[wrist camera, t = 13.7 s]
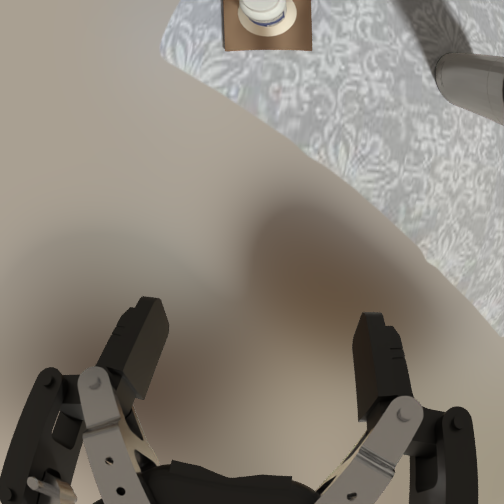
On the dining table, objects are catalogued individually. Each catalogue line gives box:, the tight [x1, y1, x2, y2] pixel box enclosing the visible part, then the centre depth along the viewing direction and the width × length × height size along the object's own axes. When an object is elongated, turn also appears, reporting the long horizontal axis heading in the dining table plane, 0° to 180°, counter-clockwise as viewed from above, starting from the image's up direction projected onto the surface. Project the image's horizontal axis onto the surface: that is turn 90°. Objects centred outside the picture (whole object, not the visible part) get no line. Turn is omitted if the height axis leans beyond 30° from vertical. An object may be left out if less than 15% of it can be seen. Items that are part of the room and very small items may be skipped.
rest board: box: [223, 0, 312, 51], centre depth 29 cm, size 12×12×1 cm
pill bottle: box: [239, 0, 287, 27], centre depth 25 cm, size 5×5×10 cm
